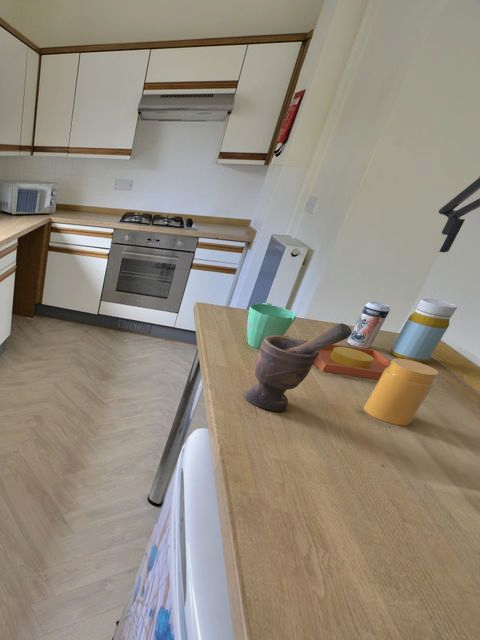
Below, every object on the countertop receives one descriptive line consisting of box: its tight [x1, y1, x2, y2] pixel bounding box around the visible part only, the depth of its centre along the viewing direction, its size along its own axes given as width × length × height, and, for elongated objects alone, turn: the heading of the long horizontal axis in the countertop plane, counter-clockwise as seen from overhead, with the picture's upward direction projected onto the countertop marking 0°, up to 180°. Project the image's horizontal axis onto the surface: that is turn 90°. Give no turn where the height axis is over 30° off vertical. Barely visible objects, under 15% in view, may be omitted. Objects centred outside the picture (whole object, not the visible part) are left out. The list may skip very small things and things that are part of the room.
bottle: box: [390, 298, 458, 364], centre depth 102 cm, size 7×7×15 cm
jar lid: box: [330, 347, 373, 369], centre depth 100 cm, size 8×8×2 cm
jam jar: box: [363, 358, 439, 426], centre depth 78 cm, size 7×7×11 cm
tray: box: [299, 339, 391, 381], centre depth 100 cm, size 17×14×2 cm
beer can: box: [347, 301, 391, 349], centre depth 108 cm, size 5×5×12 cm
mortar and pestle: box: [244, 322, 353, 413], centre depth 77 cm, size 12×9×20 cm
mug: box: [246, 302, 297, 350], centre depth 108 cm, size 15×10×10 cm
